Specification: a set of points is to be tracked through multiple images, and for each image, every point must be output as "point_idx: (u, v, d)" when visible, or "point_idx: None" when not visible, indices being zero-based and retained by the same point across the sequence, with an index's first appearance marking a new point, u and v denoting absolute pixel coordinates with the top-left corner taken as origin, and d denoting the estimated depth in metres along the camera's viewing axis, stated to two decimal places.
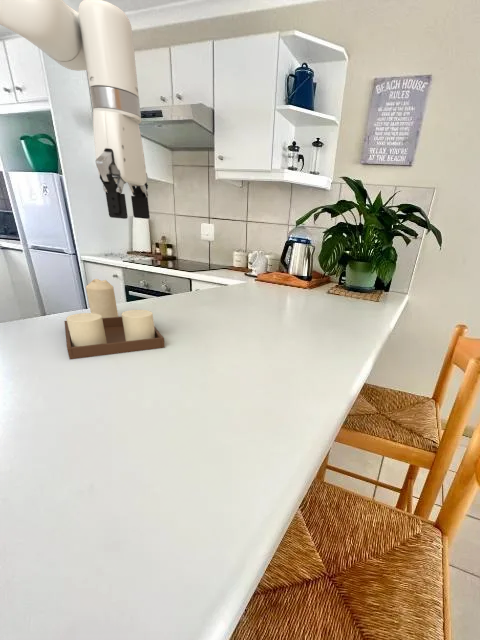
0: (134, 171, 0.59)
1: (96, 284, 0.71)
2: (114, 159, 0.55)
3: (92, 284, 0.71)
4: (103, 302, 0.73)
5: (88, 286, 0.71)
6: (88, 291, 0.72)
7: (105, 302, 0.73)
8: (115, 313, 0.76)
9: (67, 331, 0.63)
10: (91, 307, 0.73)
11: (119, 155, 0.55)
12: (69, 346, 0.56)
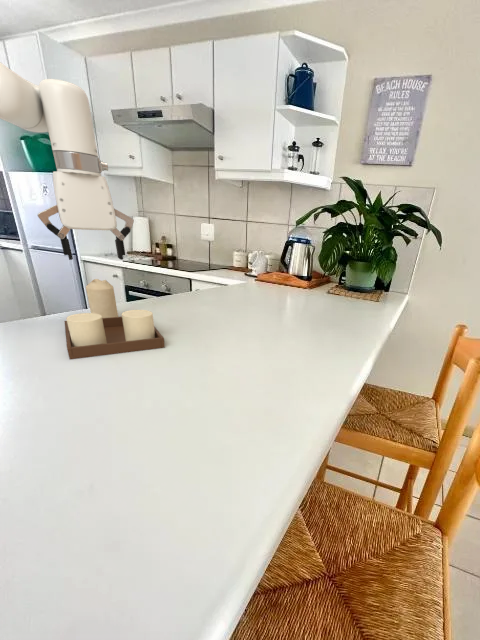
0: (83, 219, 0.65)
1: (96, 284, 0.71)
2: (58, 210, 0.64)
3: (92, 284, 0.71)
4: (103, 302, 0.73)
5: (88, 286, 0.71)
6: (88, 291, 0.72)
7: (105, 301, 0.73)
8: (115, 313, 0.76)
9: (67, 331, 0.63)
10: (91, 307, 0.73)
11: (58, 207, 0.63)
12: (69, 346, 0.56)
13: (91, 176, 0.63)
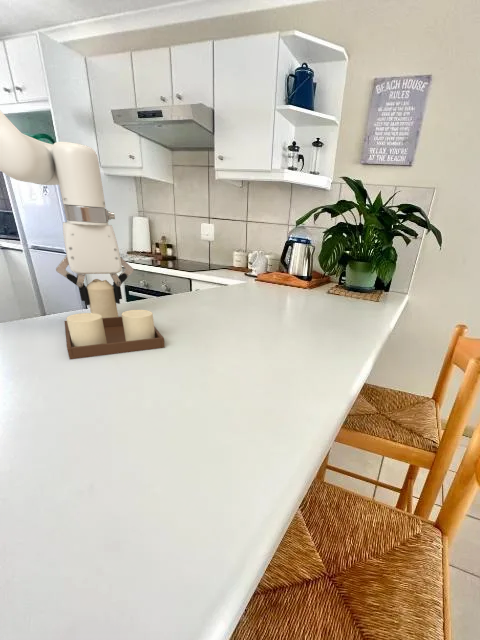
0: (91, 264, 0.69)
1: (96, 284, 0.71)
2: (67, 257, 0.68)
3: (92, 284, 0.71)
4: (103, 302, 0.73)
5: (88, 286, 0.71)
6: (88, 291, 0.72)
7: (106, 301, 0.73)
8: (115, 313, 0.76)
9: (67, 331, 0.63)
10: (91, 307, 0.73)
11: (67, 255, 0.67)
12: (69, 346, 0.56)
13: (99, 226, 0.67)
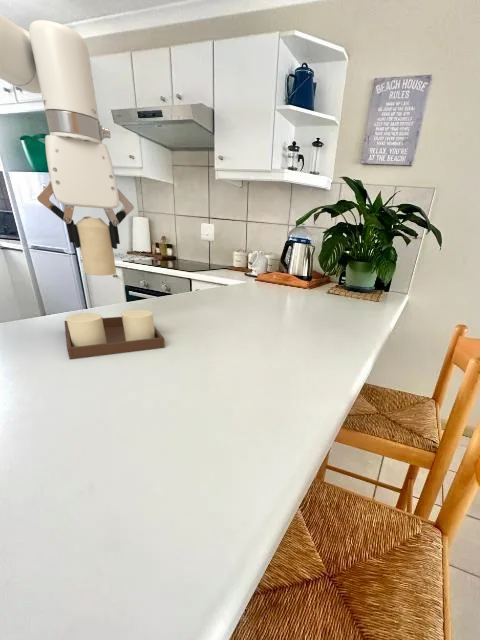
0: (81, 194, 0.56)
1: (88, 220, 0.58)
2: (51, 183, 0.54)
3: (83, 220, 0.58)
4: (97, 244, 0.59)
5: (78, 223, 0.58)
6: (78, 229, 0.58)
7: (100, 243, 0.60)
8: (111, 260, 0.63)
9: (67, 331, 0.63)
10: (82, 250, 0.60)
11: (51, 178, 0.53)
12: (69, 346, 0.56)
13: (90, 143, 0.54)
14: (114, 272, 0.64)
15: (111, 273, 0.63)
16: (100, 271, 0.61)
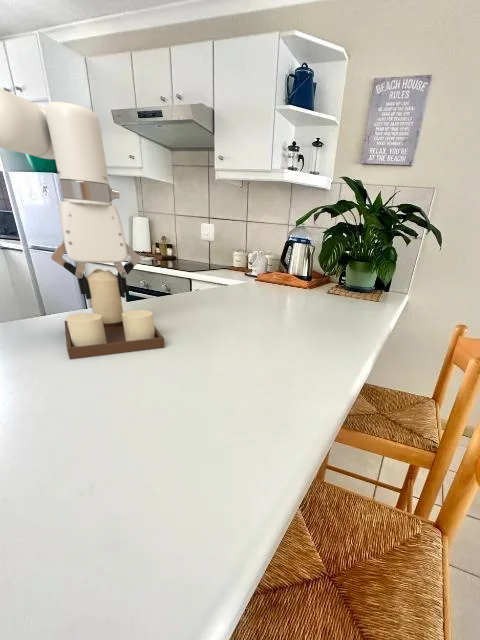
0: (92, 251, 0.59)
1: (98, 274, 0.62)
2: (64, 243, 0.58)
3: (94, 274, 0.62)
4: (106, 295, 0.63)
5: (89, 277, 0.62)
6: (89, 283, 0.62)
7: (109, 295, 0.63)
8: (120, 308, 0.66)
9: (67, 331, 0.63)
10: (92, 301, 0.63)
11: (65, 239, 0.57)
12: (69, 346, 0.56)
13: (101, 206, 0.57)
14: None
15: (119, 320, 0.67)
16: (109, 320, 0.65)
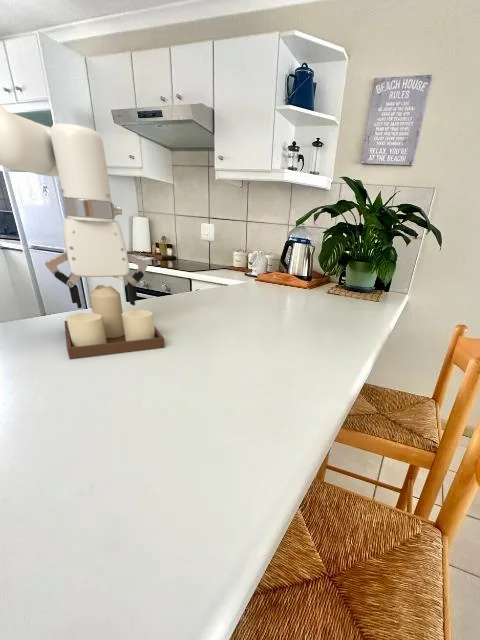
0: (94, 266, 0.60)
1: (101, 291, 0.63)
2: (68, 258, 0.59)
3: (96, 291, 0.63)
4: (108, 311, 0.64)
5: (92, 293, 0.63)
6: (91, 299, 0.63)
7: (111, 311, 0.65)
8: (122, 323, 0.68)
9: (67, 331, 0.63)
10: None
11: (68, 255, 0.58)
12: (69, 346, 0.56)
13: (104, 222, 0.58)
14: (124, 333, 0.69)
15: (121, 335, 0.68)
16: (111, 334, 0.66)
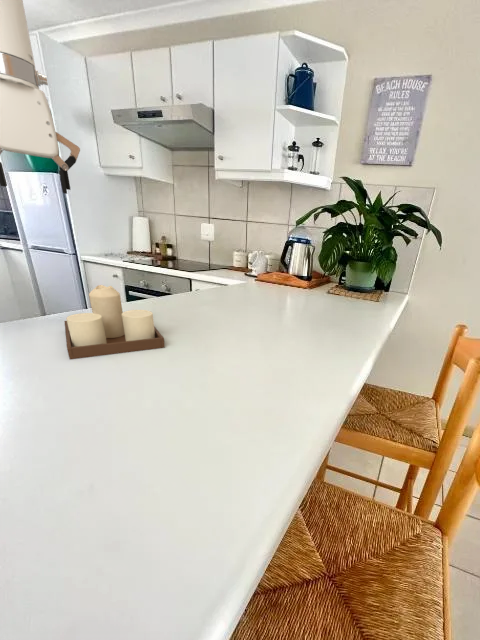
0: (16, 138, 0.57)
1: (100, 291, 0.63)
2: None
3: (96, 291, 0.63)
4: (108, 311, 0.64)
5: (91, 293, 0.63)
6: (91, 299, 0.63)
7: (111, 311, 0.65)
8: (122, 323, 0.68)
9: (67, 331, 0.63)
10: None
11: None
12: (69, 346, 0.56)
13: (25, 87, 0.55)
14: (124, 333, 0.69)
15: (121, 335, 0.68)
16: (111, 334, 0.66)
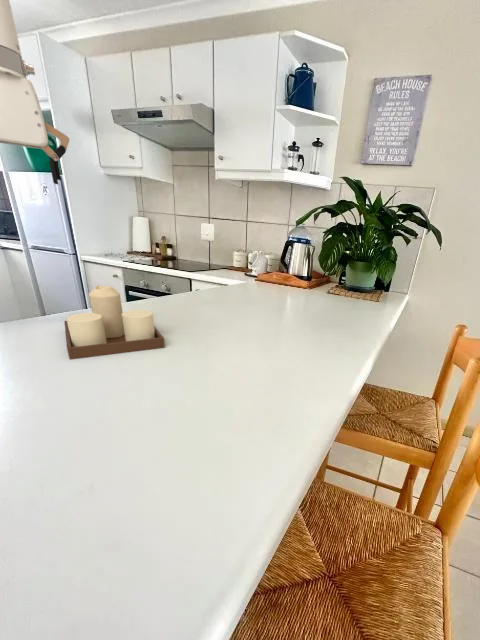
0: (6, 128, 0.58)
1: (100, 291, 0.63)
2: None
3: (96, 291, 0.63)
4: (108, 311, 0.64)
5: (91, 293, 0.63)
6: (91, 299, 0.63)
7: (111, 311, 0.65)
8: (122, 323, 0.68)
9: (67, 331, 0.63)
10: None
11: None
12: (69, 346, 0.56)
13: (12, 76, 0.56)
14: (124, 333, 0.69)
15: (121, 335, 0.68)
16: (111, 334, 0.66)
